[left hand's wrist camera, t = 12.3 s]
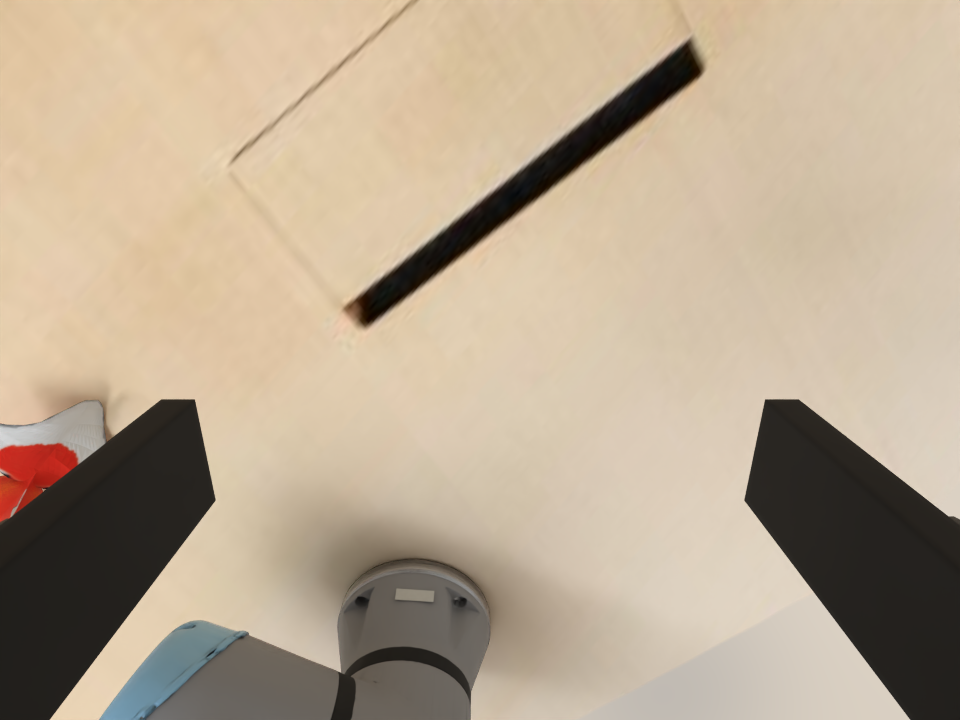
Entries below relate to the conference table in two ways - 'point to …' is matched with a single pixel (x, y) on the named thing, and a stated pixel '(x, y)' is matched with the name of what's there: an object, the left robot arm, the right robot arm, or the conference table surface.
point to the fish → (46, 452)
